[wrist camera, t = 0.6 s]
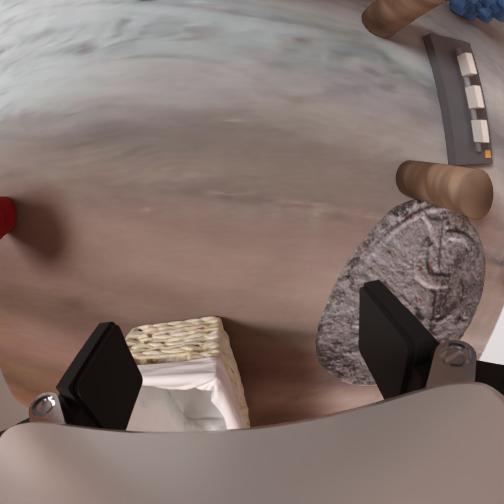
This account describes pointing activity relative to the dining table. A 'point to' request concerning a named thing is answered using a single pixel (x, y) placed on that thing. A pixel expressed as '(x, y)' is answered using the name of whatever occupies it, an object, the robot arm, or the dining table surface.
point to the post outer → (447, 186)
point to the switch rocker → (473, 98)
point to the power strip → (456, 101)
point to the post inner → (394, 14)
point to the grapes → (479, 9)
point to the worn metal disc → (405, 282)
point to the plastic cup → (6, 216)
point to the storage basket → (186, 378)
